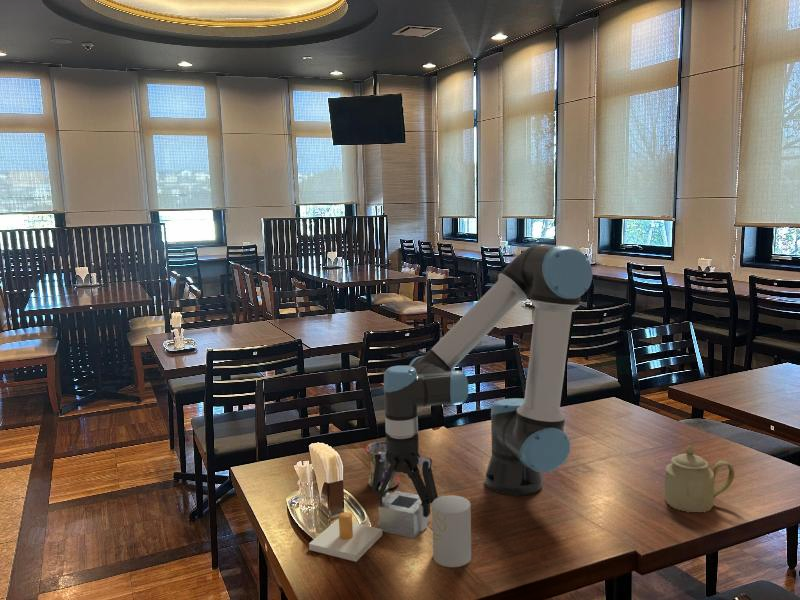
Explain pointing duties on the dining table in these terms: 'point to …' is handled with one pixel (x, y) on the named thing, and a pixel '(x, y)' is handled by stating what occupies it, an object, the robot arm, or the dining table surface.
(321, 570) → the dining table surface
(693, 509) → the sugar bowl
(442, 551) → the white upright cylinder
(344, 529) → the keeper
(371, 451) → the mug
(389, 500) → the grey block with hole
